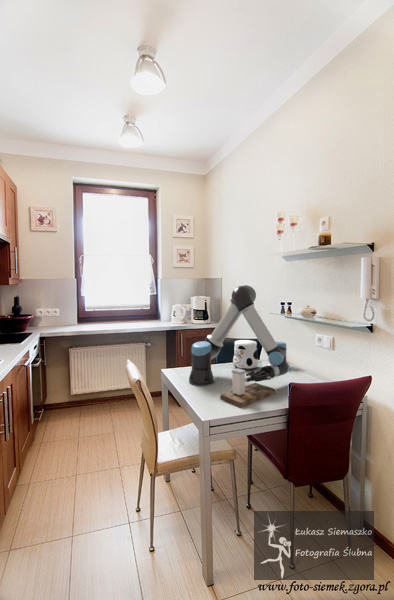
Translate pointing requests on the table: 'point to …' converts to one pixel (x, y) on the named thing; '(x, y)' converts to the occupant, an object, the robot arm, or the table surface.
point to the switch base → (248, 395)
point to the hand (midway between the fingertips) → (241, 380)
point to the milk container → (245, 354)
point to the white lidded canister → (238, 381)
